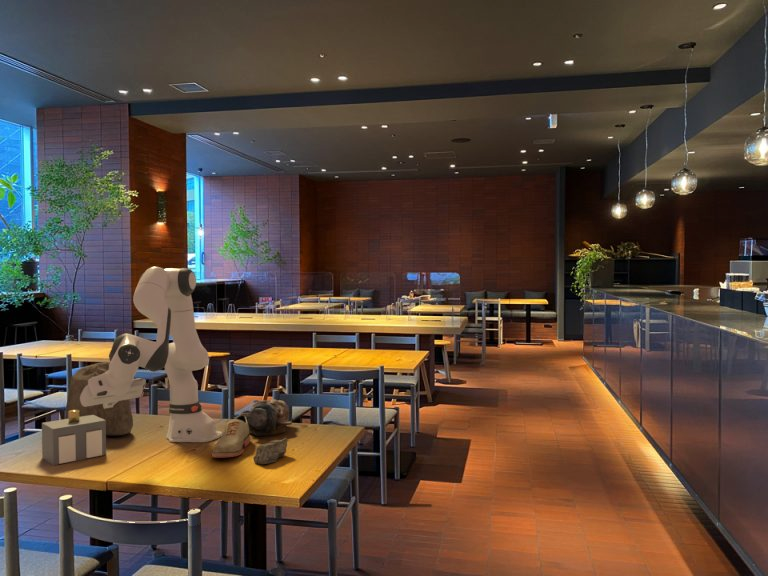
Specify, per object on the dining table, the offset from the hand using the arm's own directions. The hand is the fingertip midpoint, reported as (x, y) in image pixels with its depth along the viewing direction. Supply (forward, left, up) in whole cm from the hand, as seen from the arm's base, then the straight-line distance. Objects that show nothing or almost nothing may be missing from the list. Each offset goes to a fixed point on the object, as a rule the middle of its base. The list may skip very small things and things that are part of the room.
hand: (107, 406), depth 212 cm
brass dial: (+20, -6, -8) cm, 22 cm away
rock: (-53, -20, -21) cm, 61 cm away
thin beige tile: (+21, -1, -20) cm, 29 cm away
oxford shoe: (-34, -26, -21) cm, 47 cm away
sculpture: (-34, -56, -21) cm, 69 cm away
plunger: (+16, -9, -20) cm, 28 cm away
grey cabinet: (+20, -6, -21) cm, 29 cm away
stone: (+35, -40, -21) cm, 58 cm away
